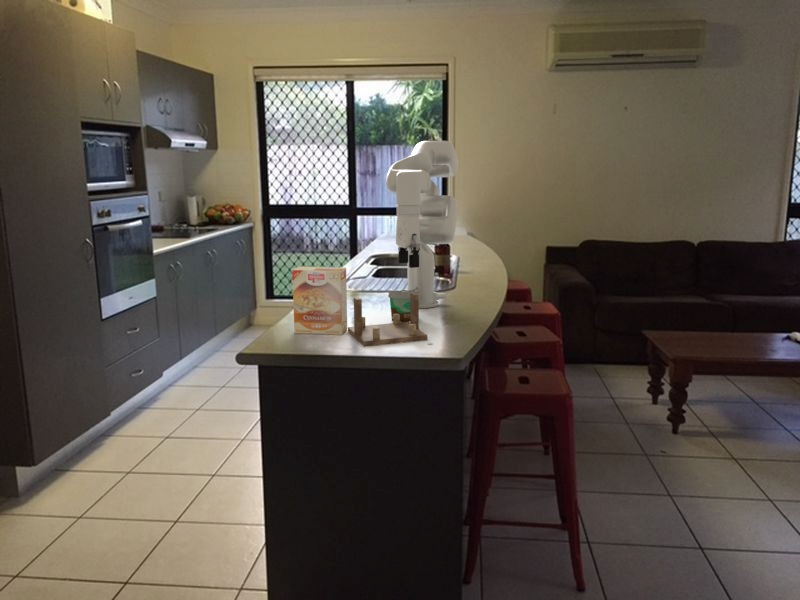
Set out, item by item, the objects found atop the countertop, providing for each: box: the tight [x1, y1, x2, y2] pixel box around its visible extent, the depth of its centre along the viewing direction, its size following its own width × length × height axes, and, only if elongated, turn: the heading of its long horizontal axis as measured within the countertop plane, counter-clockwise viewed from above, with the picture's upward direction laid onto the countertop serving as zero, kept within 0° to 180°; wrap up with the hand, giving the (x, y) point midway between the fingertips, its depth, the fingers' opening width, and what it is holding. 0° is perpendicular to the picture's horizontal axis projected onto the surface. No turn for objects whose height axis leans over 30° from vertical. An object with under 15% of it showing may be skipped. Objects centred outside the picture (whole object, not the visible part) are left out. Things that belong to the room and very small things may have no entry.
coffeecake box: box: [291, 266, 348, 336], centre depth 199 cm, size 15×7×20 cm, turn 81°
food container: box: [387, 287, 422, 323], centre depth 214 cm, size 12×6×10 cm, turn 129°
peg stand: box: [347, 293, 428, 347], centre depth 195 cm, size 19×17×12 cm
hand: (408, 265), depth 211 cm, fingers open, 9 cm apart
